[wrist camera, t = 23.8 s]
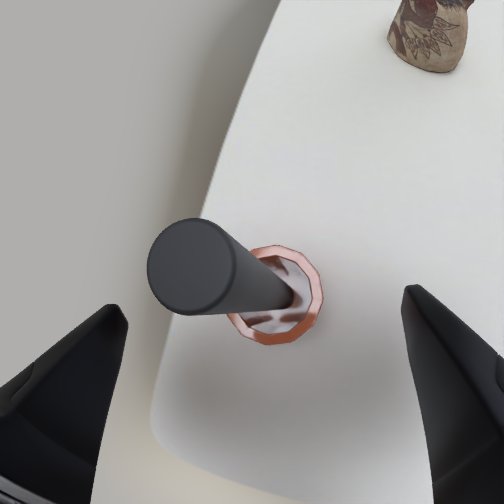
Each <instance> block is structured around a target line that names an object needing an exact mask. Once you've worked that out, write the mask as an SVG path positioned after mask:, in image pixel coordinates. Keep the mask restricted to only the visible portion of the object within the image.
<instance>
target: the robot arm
mask: <svg viewBox="0 0 504 504" xmlns="http://www.w3.org/2000/svg"><path fill="white" fill-rule="evenodd" d="M401 315H402V321H403V326H404V332H405V338H406V344H407V351H408V357H409V362H410V366H411V370H412V374H413V378H414V383H415V387H416V391H417V396H418V400H419V405H420V410H421V414H422V420H423V425H424V430H425V436H426V442H427V448H428V455H429V462H430V469H431V477H432V488H433V499H434V504H504V359H503V358H502V357H501V356H500V355H498V353H497V352H496V351H495V350H494V349H493V348H492V347H491V346H490V345H489V344H487V343H486V342H485V341H484V340H483V339H482V338H481V337H480V336H479V335H478V334H477V333H475V332H474V331H473V330H472V329H471V328H470V327H469V326H468V325H467V324H465V323H464V322H463V321H462V320H461V319H460V318H459V317H457V316H456V315H455V314H454V313H453V312H452V311H450V310H449V309H448V308H447V307H446V306H445V305H443V304H442V303H441V302H440V301H439V300H438V299H436V298H435V297H434V296H433V295H431V294H430V293H429V292H428V291H427V290H425V289H424V288H423V287H422V286H420V285H418V284H415V285H408V286H406V287H405V289H404V294H403V300H402V305H401ZM127 332H128V321H127V319H126V318H125V316H124V314H123V313H122V311H121V309H120V307H119V306H118V305H116V304H107V305H105V306H103V307H102V308H101V309H100V310H98V311H97V312H96V313H94V314H93V315H92V316H90V317H89V318H88V319H87V320H85V321H84V322H83V323H81V324H80V325H79V326H78V327H76V328H75V329H74V330H72V331H71V332H70V333H69V334H67V335H66V336H65V337H63V338H62V339H61V340H60V341H58V342H57V343H56V344H55V345H53V346H52V347H51V348H50V349H49V350H47V351H46V352H45V353H44V354H42V355H41V356H40V357H39V358H37V359H36V360H35V362H33V363H31V364H30V365H29V366H28V367H26V369H24V370H23V371H22V372H20V373H19V374H18V375H16V376H15V377H14V378H13V379H11V380H10V381H9V382H7V383H6V384H5V385H3V386H2V387H0V504H90V501H91V495H92V488H93V483H94V477H95V471H96V465H97V460H98V455H99V450H100V446H101V441H102V437H103V432H104V428H105V423H106V419H107V415H108V411H109V407H110V403H111V399H112V396H113V391H114V388H115V384H116V381H117V377H118V374H119V369H120V366H121V362H122V356H123V351H124V346H125V341H126V336H127Z"/></svg>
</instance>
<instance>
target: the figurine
mask: <svg viewBox="0 0 504 504" xmlns="http://www.w3.org/2000/svg"><path fill="white" fill-rule="evenodd" d="M473 2H474V0H402V2H401V4H400V6H399V9H398V11H397V13H396V16H395V18H394V20H393V22H392V24H391V26H390V30H389V33H388V37H387V40H388V41H389V43H390V44H391V47H392V48H393V49H394V51H395V53H396V54H397V55H398V56H399V57H400V58H402V59H403V60H404V61H406V62H408V63H410V64H412V65H414V66H416V67H418V68H421V69H424V70H427V71H434V72H447V71H450V70H452V69H454V68H455V67H456V66H457V64H458V62H459V61H460V59H461V57H462V55H463V52H464V49H465V45H466V40H467V31H468V16H467V9H468V7H469V6H470V5H471V4H472V3H473Z"/></svg>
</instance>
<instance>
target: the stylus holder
mask: <svg viewBox="0 0 504 504" xmlns="http://www.w3.org/2000/svg"><path fill="white" fill-rule="evenodd" d="M250 253H251V254H253V255H254V256H255V257H256V258H257V259H259V260H260V261H261V262H262V263H263V264H264V265H266V266H267V267H268V268H269V269H270V270H272V271H273V272H274V273H275V274H276V275H277V276H279V277H280V278H281V279H282V280H283V281H284V282H286V283H287V284H288V285H289V286H290V287H291V288H292V289H293V290H294V292H295V301H294V303H293V304H292V306H290V307H289V308H287V309H282V310H271V311H258V312H245V313H230V314H227V316H228V318H229V319H230V320H231V322H232V323H233V324H234V326H235V327H236V328H237V330H238V331H239V332H240V334H241V335H243V336H244V337H247V338H249V339H251V340H254V341H256V342H259V343H261V344H264V345H275V344H282V343H289V342H292V341H295V340H296V339H297V338H298V337H300V336H301V335H302V334H304V333H305V332H306V331H307V330H309V329H310V328H311V327H312V326H313V325H314V324H315V321H316V318H317V316H318V313H319V311H320V308H321V306H322V303H323V293H322V287H321V281H320V275H319V273H318V271H317V270H316V269H315V268H314V267H313V265H312V264H311V263H310V262H309V261H308V260H307V258H306V257H305V256H304V255H303V254H302V253H300V252H297V251H294V250H292V249H289V248H286V247H283V246H280V245H273V246H267V247H262V248H257V249H253V250H251V251H250Z"/></svg>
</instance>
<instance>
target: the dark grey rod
mask: <svg viewBox="0 0 504 504" xmlns="http://www.w3.org/2000/svg"><path fill="white" fill-rule="evenodd" d="M147 277H148V282H149V285H150V288H151V290H152V292H153V294H154V295H155V297H156V298H157V299H158V301H159V302H160V303H161V304H162V305H163V306H165V307H166V308H167V309H169V310H170V311H172V312H175V313H177V314H181V315H187V316H193V315H213V314H230V313H245V312H258V311H271V310H282V309H287V308H289V307H290V306H292V304H293V303H294V301H295V292H294V290H293V289H292V288H291V287H290V286H289V285H288V284H287V283H286V282H284V281H283V280H282V279H281V278H280V277H279V276H277V275H276V274H275V273H274V272H273V271H272V270H270V269H269V268H268V267H267V266H266V265H264V264H263V263H262V262H261V261H260V260H259V259H257V258H256V257H255V256H254V255H253V254H251V253H250V252H249V251H248V250H247V249H246V248H244V247H243V246H242V245H241V244H240V243H239V242H237V241H236V240H235V239H234V238H233V237H231V236H230V235H229V234H228V233H227V232H226V231H224V230H223V229H222V228H221V227H220V226H218V225H217V224H215V223H213V222H211V221H209V220H205V219H200V218H189V219H184V220H181V221H178V222H176V223H173V224H172V225H170V226H169V227H167V228H166V229H165V230H163V231H162V233H160V234H159V236H158V237H157V238H156V240H155V241H154V243H153V245H152V247H151V249H150V252H149V256H148V260H147Z"/></svg>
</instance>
